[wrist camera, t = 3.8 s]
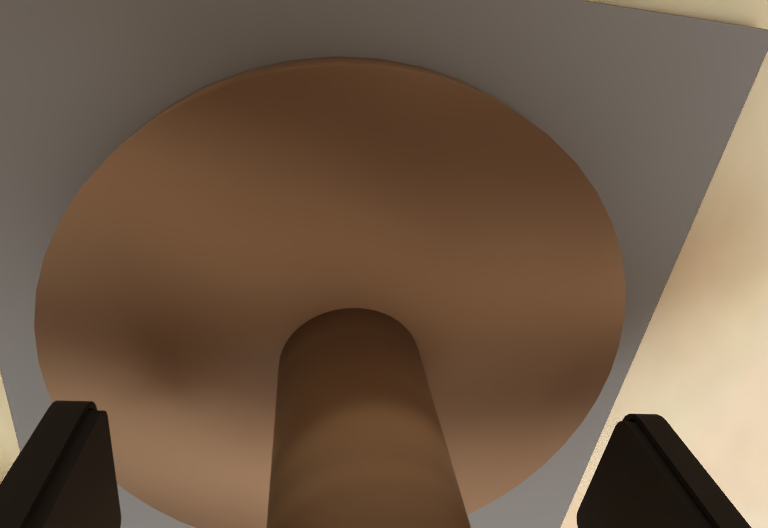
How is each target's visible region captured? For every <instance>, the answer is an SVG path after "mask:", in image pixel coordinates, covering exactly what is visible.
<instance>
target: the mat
mask: <svg viewBox="0 0 768 528" xmlns="http://www.w3.org/2000/svg"><path fill="white" fill-rule="evenodd" d="M767 51H768V30H767V29H760V28H754V27H748V26H741V25H735V24H728V23H722V22H716V21H709V20H703V19H697V18H690V17H684V16H678V15H671V14H665V13H659V12H652V11H646V10H640V9H633V8H627V7H621V6H614V5H608V4H602V3H595V2H589V1H583V0H0V371H1V375H2V379H3V383H4V387H5V391H6V395H7V399H8V403H9V407H10V411H11V415H12V419H13V424H14V428H15V432H16V436H17V440H18V444H19V448H20V452H21V451H22V449H23V448H24V446H25V444H26V443H27V441H28V440H29V438H30V436H31V435H32V433H33V432H34V430H35V429H36V427H37V425H38V424H39V422H40V421H41V419H42V417H43V416H44V414H45V413H46V411H47V409H48V408H49V407H50V405H51V404H52V403H53V402H52V400H51V398H50V396H49V394H48V391H47V388H46V385H45V382H44V378H43V375H42V372H41V368H40V365H39V362H38V355H37V347H36V339H35V331H34V317H35V298H36V289H37V284H38V280H39V276H40V272H41V268H42V263H43V259H44V255H45V253H46V250H47V248H48V246H49V244H50V241H51V239H52V237H53V234H54V232H55V230H56V227H57V225H58V223H59V220H60V219H61V217H62V216H63V214H64V212H65V211H66V209H67V208H68V206H69V205H70V203H71V202H72V200H73V199H74V197H75V196H76V194H77V193H78V191H79V190H80V188H81V187H82V185H83V184H84V183H85V182H86V181H87V180H88V178H89V177H90V176H91V175H92V174H93V173H94V172H95V171H96V170H97V169H98V168H99V167H100V165H101V164H102V163H103V162H104V161H105V160H106V159H107V158H108V157H109V156H110V155H111V154H112V153H113V152H114V151H115V150H116V149H117V148H118V147H119V146H120V145H121V144H123V143H124V142H125V141H126V140H127V139H128V138H129V137H130V136H131V135H133V134H134V133H135V132H136V131H138V130H139V129H140V128H141V127H143V126H144V125H145V124H147V123H148V122H149V121H150V120H152V119H153V118H154V117H155V116H157V115H158V114H159V113H161V112H162V111H163V110H164V109H166V108H167V107H169V106H171V105H173V104H174V103H176V102H178V101H180V100H181V99H183V98H185V97H187V96H188V95H190V94H192V93H194V92H196V91H197V90H199V89H201V88H203V87H205V86H207V85H210V84H212V83H215V82H218V81H220V80H223V79H225V78H228V77H230V76H233V75H235V74H238V73H241V72H243V71H246V70H250V69H255V68H259V67H263V66H268V65H272V64H276V63H280V62H285V61H289V60H300V59H311V58H322V57H333V56H336V57H356V58H376V59H383V60H389V61H394V62H399V63H404V64H409V65H415V66H420V67H423V68H426V69H429V70H432V71H435V72H438V73H441V74H444V75H447V76H449V77H452V78H455V79H458V80H461V81H463V82H465V83H467V84H469V85H471V86H473V87H474V88H476V89H478V90H480V91H482V92H484V93H486V94H488V95H490V96H492V97H494V98H496V99H497V100H499V101H500V102H502V103H504V104H505V105H507V106H508V107H510V108H511V109H513V110H514V111H516V112H517V113H519V114H520V115H521V116H523V117H524V118H526V119H527V120H528V121H530V122H531V123H532V124H534V125H535V126H537V127H538V128H539V129H541V130H542V131H543V132H545V133H546V134H548V135H549V136H550V137H551V138H552V139H553V140H554V141H555V142H556V143H557V144H558V145H559V146H560V147H561V148H562V149H563V150H564V151H565V152H566V153H567V154H568V155H569V156H570V157H571V158H572V159H573V160H574V161H575V162H576V163H577V165H578V166H579V167H580V169H581V170H582V172H583V173H584V174H585V176H586V177H587V179H588V180H589V181H590V183H591V184H592V186H593V187H594V188H595V190H596V191H597V193H598V195H599V197H600V199H601V201H602V203H603V205H604V207H605V209H606V211H607V213H608V215H609V217H610V219H611V221H612V223H613V227H614V230H615V233H616V237H617V240H618V244H619V247H620V250H621V254H622V261H623V268H624V276H625V284H626V291H625V317H624V323H623V328H622V334H621V339H620V345H619V348H618V351H617V354H616V357H615V360H614V363H613V366H612V369H611V372H610V374H609V376H608V378H607V380H606V382H605V384H604V387H603V389H602V391H601V393H600V395H599V397H598V399H597V400H596V402H595V404H594V405H593V407H592V408H591V410H590V411H589V413H588V414H587V416H586V417H585V419H584V421H583V422H582V423H581V425H580V426H579V427H578V428H577V430H576V431H575V432H574V433H573V434H572V436H571V437H570V438H569V439H568V441H567V442H566V443H565V444H564V445H563V446H562V447H561V448H560V449H559V450H558V451H557V452H556V453H555V454H554V455H553V456H552V457H551V458H550V459H549V460H548V461H547V462H546V463H545V464H544V465H543V466H542V467H541V468H539V469H538V470H537V471H536V472H534V473H533V474H532V475H531V476H529V477H528V478H527V479H526V480H524V481H523V482H522V483H521V484H519V485H518V486H516V487H515V488H513V489H512V490H510V491H509V492H507V493H506V494H504V495H503V496H501V497H500V498H498V499H497V500H495V501H493V502H491V503H489V504H487V505H485V506H484V507H482V508H480V509H478V510H476V511H474V512H472V513H471V514H468V515H467V516H468V519H469V523H470V526H471V528H560V527H561V524H562V522H563V520H564V517H565V515H566V513H567V511H568V508H569V506H570V504H571V501H572V499H573V497H574V494H575V492H576V490H577V488H578V485H579V483H580V481H581V478H582V476H583V474H584V471H585V469H586V467H587V465H588V462H589V460H590V458H591V455H592V453H593V451H594V448H595V446H596V444H597V442H598V439H599V437H600V435H601V432H602V430H603V428H604V425H605V423H606V421H607V419H608V416H609V414H610V412H611V409H612V407H613V405H614V402H615V400H616V398H617V396H618V393H619V391H620V389H621V386H622V384H623V382H624V379H625V377H626V375H627V373H628V370H629V368H630V366H631V363H632V361H633V359H634V356H635V354H636V352H637V350H638V347H639V345H640V343H641V340H642V338H643V336H644V333H645V331H646V329H647V327H648V324H649V322H650V320H651V317H652V315H653V313H654V310H655V308H656V306H657V304H658V301H659V299H660V297H661V294H662V292H663V290H664V287H665V285H666V283H667V281H668V278H669V276H670V274H671V271H672V269H673V267H674V265H675V262H676V260H677V258H678V255H679V253H680V251H681V248H682V246H683V244H684V242H685V239H686V237H687V235H688V232H689V230H690V228H691V225H692V223H693V221H694V219H695V216H696V214H697V212H698V209H699V207H700V205H701V202H702V200H703V198H704V196H705V193H706V191H707V189H708V186H709V184H710V182H711V179H712V177H713V175H714V173H715V170H716V168H717V166H718V163H719V161H720V159H721V156H722V154H723V152H724V150H725V147H726V145H727V143H728V140H729V138H730V136H731V133H732V131H733V129H734V127H735V124H736V122H737V120H738V117H739V115H740V113H741V110H742V108H743V106H744V104H745V101H746V99H747V97H748V94H749V92H750V90H751V87H752V85H753V83H754V81H755V78H756V76H757V74H758V71H759V69H760V67H761V64H762V62H763V60H764V58H765V55H766V53H767ZM117 488H118V495H119V503H120V510H121V527H120V528H195V527H193V526H190V525H188V524H185V523H182V522H180V521H178V520H176V519H174V518H172V517H170V516H168V515H166V514H164V513H162V512H160V511H158V510H156V509H154V508H152V507H150V506H149V505H147V504H146V503H144V502H143V501H141V500H139V499H138V498H136V497H135V496H133V495H132V494H130V493H129V492H127V491H126V490H124V489H123V488H122V487H121V486H120V485H118V484H117Z"/></svg>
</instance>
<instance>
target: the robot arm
mask: <svg viewBox="0 0 768 528" xmlns="http://www.w3.org/2000/svg"><path fill="white" fill-rule="evenodd" d="M577 525H578V528H751V527H750V525H749V524H748V523H747V522H746V520H745V519H744V518H743V517H742V515H741V514H740V513H739V512H738V510H737V509H736V508H735V507H734V505H733V504H732V503H731V502H730V500H729V499H728V498H727V496H726V495H725V494H724V493H723V491H722V490H721V489H720V488H719V486H718V485H717V484H716V483H715V481H714V480H713V479H712V478H711V476H710V475H709V474H708V473H707V471H706V470H705V469H704V468H703V466H702V465H701V464H700V463H699V461H698V460H697V459H696V458H695V456H694V455H693V454H692V453H691V451H690V450H689V449H688V447H687V446H686V445H685V444H684V442H683V441H682V440H681V439H680V437H679V436H678V435H677V434H676V432H675V431H674V430H673V429H672V427H671V426H670V425H669V424H668V422H667V421H666V420H665V419H664V418H663V417H662V416H660V415H657V414H628V415H626V416H625V417H624V419H623V420H622V421H620V422H618V423H617V425H616V426H615V428H614V431H613V433H612V435H611V437H610V440H609V442H608V444H607V446H606V449H605V451H604V453H603V455H602V458H601V460H600V462H599V465H598V467H597V469H596V471H595V474H594V476H593V478H592V480H591V483H590V485H589V487H588V489H587V492H586V494H585V496H584V498H583V501H582V503H581V505H580V507H579V510H578V513H577ZM120 527H121V510H120V503H119V495H118V488H117V481H116V473H115V466H114V458H113V451H112V444H111V436H110V429H109V422H108V415H107V412H106V411H103V410H97V407H96V404H95V403H94V402H92V401H57V400H56V401H55V402H53V403H52V404H51V405H50V407H49V408H48V409H47V411H46V413H45V414H44V416H43V417H42V419H41V421H40V422H39V424H38V425H37V427H36V429H35V430H34V432H33V433H32V435H31V436H30V438H29V440H28V441H27V443H26V444H25V446H24V448H23V449H22V451H21V452H20V454H19V456H18V457H17V459H16V460H15V462H14V463H13V465H12V467H11V468H10V470H9V471H8V473H7V475H6V476H5V478H4V479H3V481H2V483H1V484H0V528H120Z"/></svg>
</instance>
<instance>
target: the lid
mask: <svg viewBox="0 0 768 528" xmlns="http://www.w3.org/2000/svg"><path fill="white" fill-rule="evenodd" d="M625 291H626V284H625V276H624V268H623V261H622V254H621V250H620V247H619V244H618V240H617V237H616V233H615V230H614V227H613V223H612V221H611V219H610V217H609V215H608V213H607V211H606V209H605V207H604V205H603V203H602V201H601V199H600V197H599V195H598V193H597V191H596V190H595V188H594V187H593V186H592V184H591V183H590V181H589V180H588V179H587V177H586V176H585V174H584V173H583V172H582V170H581V169H580V167H579V166H578V165H577V163H576V162H575V161H574V160H573V159H572V158H571V157H570V156H569V155H568V154H567V153H566V152H565V151H564V150H563V149H562V148H561V147H560V146H559V145H558V144H557V143H556V142H555V141H554V140H553V139H552V138H551V137H550V136H549V135H548V134H546V133H545V132H543V131H542V130H541V129H539V128H538V127H537V126H535V125H534V124H532V123H531V122H530V121H528V120H527V119H526V118H524V117H523V116H521V115H520V114H519V113H517V112H516V111H514V110H513V109H511V108H510V107H508V106H507V105H505V104H504V103H502V102H500V101H499V100H497V99H496V98H494V97H492V96H490V95H488V94H486V93H484V92H482V91H480V90H478V89H476V88H474V87H473V86H471V85H469V84H467V83H465V82H463V81H461V80H458V79H455V78H452V77H449V76H447V75H444V74H441V73H438V72H435V71H432V70H429V69H426V68H423V67H420V66H415V65H409V64H404V63H399V62H394V61H389V60H383V59H376V58H356V57H336V56H333V57H322V58H311V59H300V60H289V61H285V62H280V63H276V64H272V65H268V66H263V67H259V68H255V69H250V70H246V71H243V72H241V73H238V74H235V75H233V76H230V77H228V78H225V79H223V80H220V81H218V82H215V83H212V84H210V85H207V86H205V87H203V88H201V89H199V90H197V91H196V92H194V93H192V94H190V95H188V96H187V97H185V98H183V99H181V100H180V101H178V102H176V103H174V104H173V105H171V106H169V107H167V108H166V109H164V110H163V111H162V112H161V113H159V114H158V115H157V116H155V117H154V118H153V119H152V120H150V121H149V122H148V123H147V124H145V125H144V126H143V127H141V128H140V129H139V130H138V131H136V132H135V133H134V134H133V135H131V136H130V137H129V138H128V139H127V140H126V141H125V142H124V143H123V144H121V145H120V146H119V147H118V148H117V149H116V150H115V151H114V152H113V153H112V154H111V155H110V156H109V157H108V158H107V159H106V160H105V161H104V162H103V163H102V164H101V165H100V167H99V168H98V169H97V170H96V171H95V172H94V173H93V174H92V175H91V176H90V177H89V178H88V180H87V181H86V182H85V183H84V184H83V185H82V187H81V188H80V190H79V191H78V193H77V194H76V196H75V197H74V199H73V200H72V202H71V203H70V205H69V206H68V208H67V209H66V211H65V212H64V214H63V216H62V217H61V219H60V220H59V223H58V225H57V227H56V230H55V232H54V234H53V237H52V239H51V241H50V244H49V246H48V248H47V250H46V253H45V255H44V259H43V263H42V268H41V272H40V276H39V280H38V284H37V289H36V298H35V317H34V331H35V339H36V347H37V355H38V362H39V365H40V368H41V372H42V375H43V378H44V382H45V385H46V388H47V391H48V394H49V396H50V398H51V400H52V402H55V401H56V400H57V401H92V402H94V403H95V404H96V407H97V410H103V411H106V412H107V415H108V422H109V429H110V436H111V444H112V451H113V458H114V466H115V473H116V481H117V484H118V485H120V486H121V487H122V488H123V489H124V490H126V491H127V492H129V493H130V494H132V495H133V496H135V497H136V498H138V499H139V500H141V501H143V502H144V503H146V504H147V505H149V506H150V507H152V508H154V509H156V510H158V511H160V512H162V513H164V514H166V515H168V516H170V517H172V518H174V519H176V520H178V521H180V522H182V523H185V524H188V525H190V526H193V527H195V528H471V526H470V523H469V519H468V516H467V515H468V514H471V513H472V512H474V511H476V510H478V509H480V508H482V507H484V506H485V505H487V504H489V503H491V502H493V501H495V500H497V499H498V498H500V497H501V496H503V495H504V494H506V493H507V492H509V491H510V490H512V489H513V488H515V487H516V486H518V485H519V484H521V483H522V482H523V481H524V480H526V479H527V478H528V477H529V476H531V475H532V474H533V473H534V472H536V471H537V470H538V469H539V468H541V467H542V466H543V465H544V464H545V463H546V462H547V461H548V460H549V459H550V458H551V457H552V456H553V455H554V454H555V453H556V452H557V451H558V450H559V449H560V448H561V447H562V446H563V445H564V444H565V443H566V442H567V441H568V439H569V438H570V437H571V436H572V434H573V433H574V432H575V431H576V430H577V428H578V427H579V426H580V425H581V423H582V422H583V421H584V419H585V417H586V416H587V414H588V413H589V411H590V410H591V408H592V407H593V405H594V404H595V402H596V400H597V399H598V397H599V395H600V393H601V391H602V389H603V387H604V384H605V382H606V380H607V378H608V376H609V374H610V372H611V369H612V366H613V363H614V360H615V357H616V354H617V351H618V348H619V345H620V339H621V334H622V328H623V323H624V317H625Z"/></svg>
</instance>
